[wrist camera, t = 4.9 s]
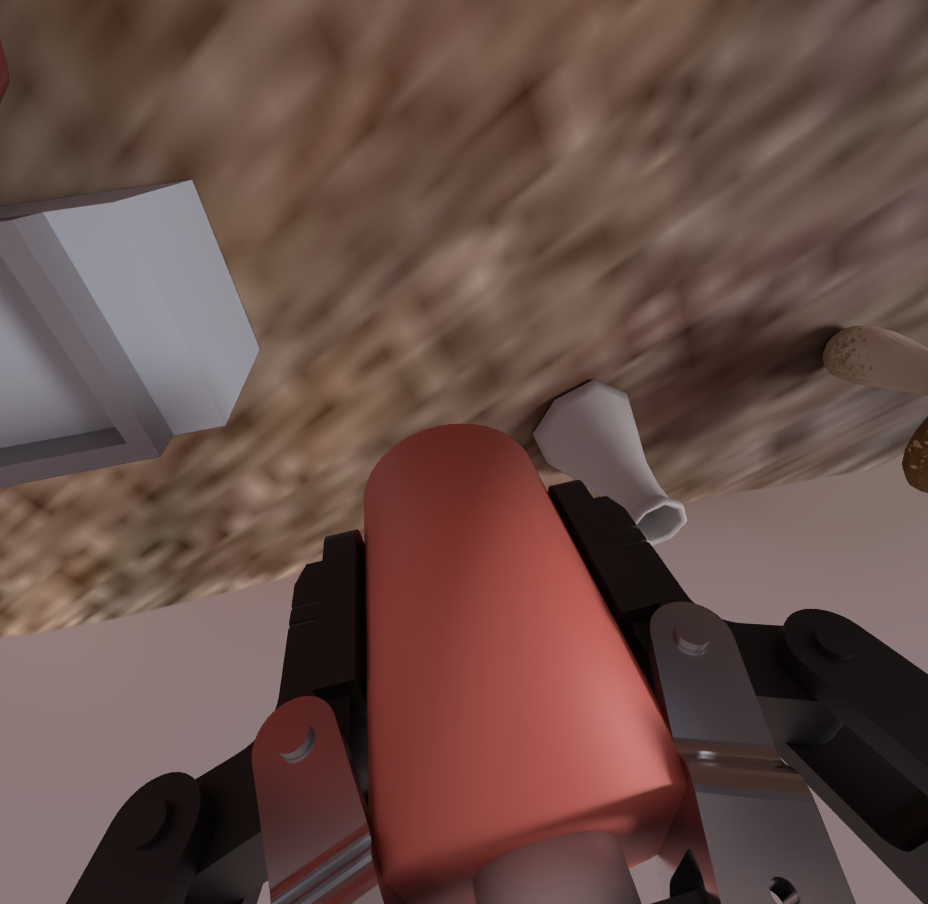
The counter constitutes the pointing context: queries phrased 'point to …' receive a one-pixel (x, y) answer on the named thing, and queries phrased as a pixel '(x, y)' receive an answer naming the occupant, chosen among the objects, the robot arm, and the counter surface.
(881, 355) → the mushroom
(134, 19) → the counter surface
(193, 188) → the grey box device
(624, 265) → the counter surface
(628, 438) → the flask
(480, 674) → the pink cylinder white tip
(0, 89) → the plant pot
